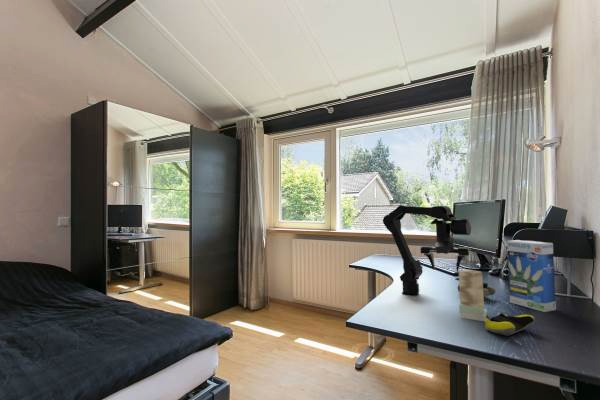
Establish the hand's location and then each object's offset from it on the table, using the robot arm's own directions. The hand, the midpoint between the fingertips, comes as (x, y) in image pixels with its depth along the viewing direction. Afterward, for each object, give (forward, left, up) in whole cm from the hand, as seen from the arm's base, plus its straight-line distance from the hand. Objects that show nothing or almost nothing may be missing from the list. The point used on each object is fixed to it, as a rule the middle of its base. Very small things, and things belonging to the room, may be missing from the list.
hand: (445, 270), depth 127 cm
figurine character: (+10, +12, -13) cm, 21 cm away
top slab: (+10, -15, -11) cm, 22 cm away
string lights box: (+30, +8, -13) cm, 34 cm away
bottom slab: (+11, -15, -14) cm, 23 cm away
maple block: (+10, -15, -9) cm, 20 cm away
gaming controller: (+21, -26, -13) cm, 36 cm away
